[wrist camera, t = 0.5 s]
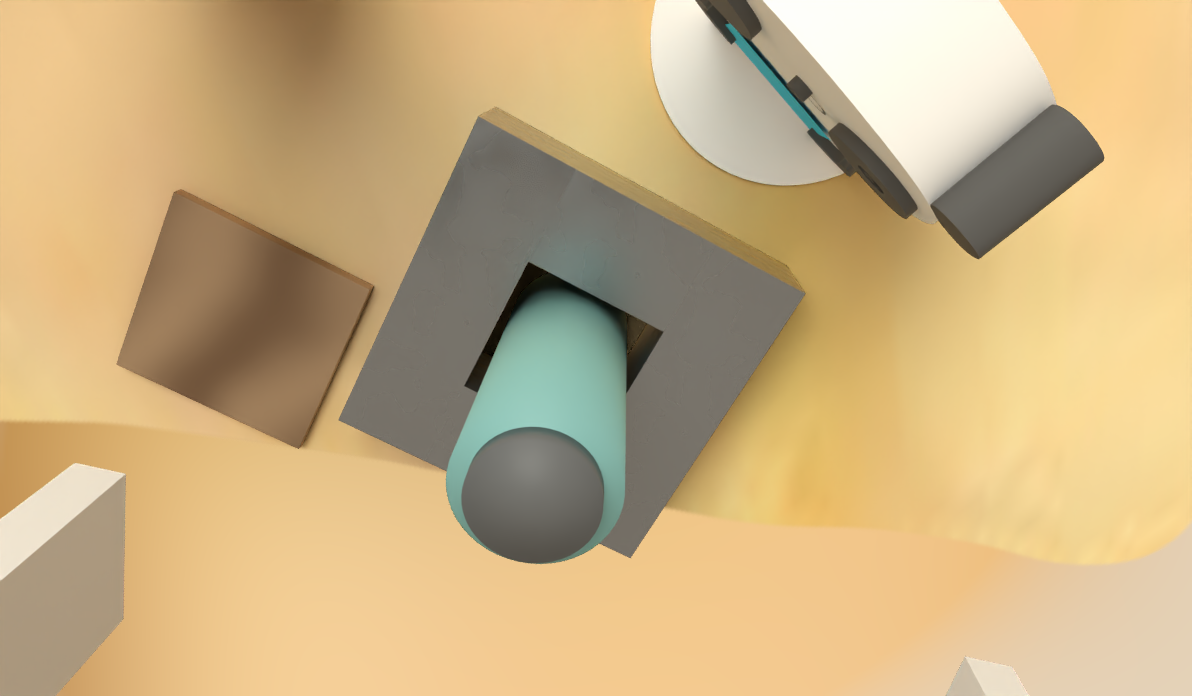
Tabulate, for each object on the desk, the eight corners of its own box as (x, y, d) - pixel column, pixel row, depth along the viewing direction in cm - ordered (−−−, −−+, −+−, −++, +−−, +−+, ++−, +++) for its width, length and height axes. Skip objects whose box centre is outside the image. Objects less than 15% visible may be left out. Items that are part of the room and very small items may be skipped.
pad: (123, 359, 38) (116, 364, 38) (181, 189, 35) (174, 191, 35) (303, 443, 39) (298, 448, 39) (373, 285, 36) (369, 289, 36)
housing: (367, 381, 38) (338, 420, 34) (495, 106, 33) (478, 116, 30) (630, 508, 40) (630, 558, 36) (787, 265, 35) (805, 293, 32)
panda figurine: (579, 21, 32) (540, 14, 18) (807, -218, 29) (972, -451, 15) (775, 239, 35) (872, 378, 21) (1003, 42, 32) (1295, 51, 18)
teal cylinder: (492, 347, 37) (410, 533, 23) (543, 249, 35) (487, 388, 22) (593, 397, 38) (571, 606, 24) (648, 304, 36) (658, 472, 22)
